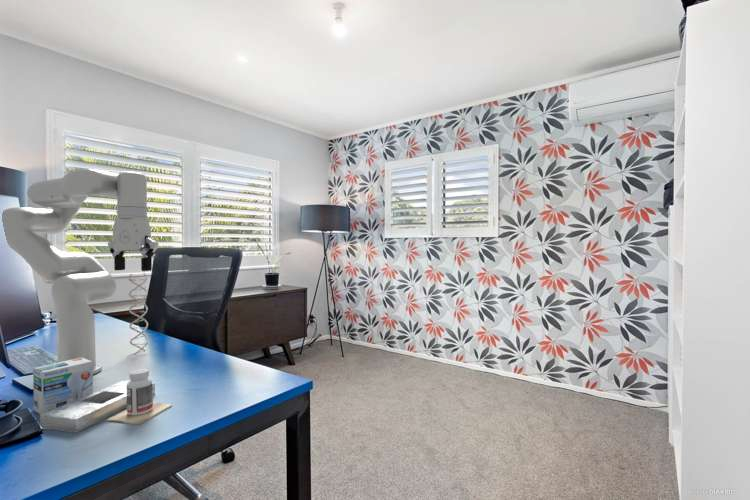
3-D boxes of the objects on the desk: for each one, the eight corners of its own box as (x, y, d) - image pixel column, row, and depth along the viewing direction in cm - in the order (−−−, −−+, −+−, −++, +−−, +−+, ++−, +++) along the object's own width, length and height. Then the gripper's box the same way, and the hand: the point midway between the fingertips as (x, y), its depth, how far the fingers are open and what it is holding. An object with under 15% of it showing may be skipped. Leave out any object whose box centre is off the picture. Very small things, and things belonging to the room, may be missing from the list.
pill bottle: (156, 405, 96) (155, 366, 96) (148, 414, 91) (147, 374, 91) (132, 407, 95) (131, 368, 95) (122, 417, 90) (122, 376, 90)
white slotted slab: (40, 428, 86) (39, 415, 85) (124, 390, 107) (124, 380, 107) (76, 432, 83) (76, 419, 83) (154, 393, 105) (154, 382, 105)
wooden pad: (106, 420, 89) (106, 419, 89) (141, 403, 99) (141, 401, 99) (139, 424, 87) (139, 422, 87) (171, 406, 97) (171, 404, 97)
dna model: (139, 350, 148) (137, 272, 147) (153, 351, 146) (151, 272, 146) (124, 355, 141) (122, 274, 141) (139, 356, 140) (137, 274, 139)
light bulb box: (43, 417, 91) (41, 372, 91) (32, 411, 95) (31, 367, 94) (94, 401, 100) (93, 360, 100) (83, 396, 104) (82, 356, 104)
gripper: (97, 213, 114) (98, 270, 114) (146, 212, 110) (147, 272, 110) (119, 214, 121) (120, 269, 121) (166, 214, 117) (166, 270, 118)
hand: (133, 270), depth 116 cm, fingers open, 9 cm apart
